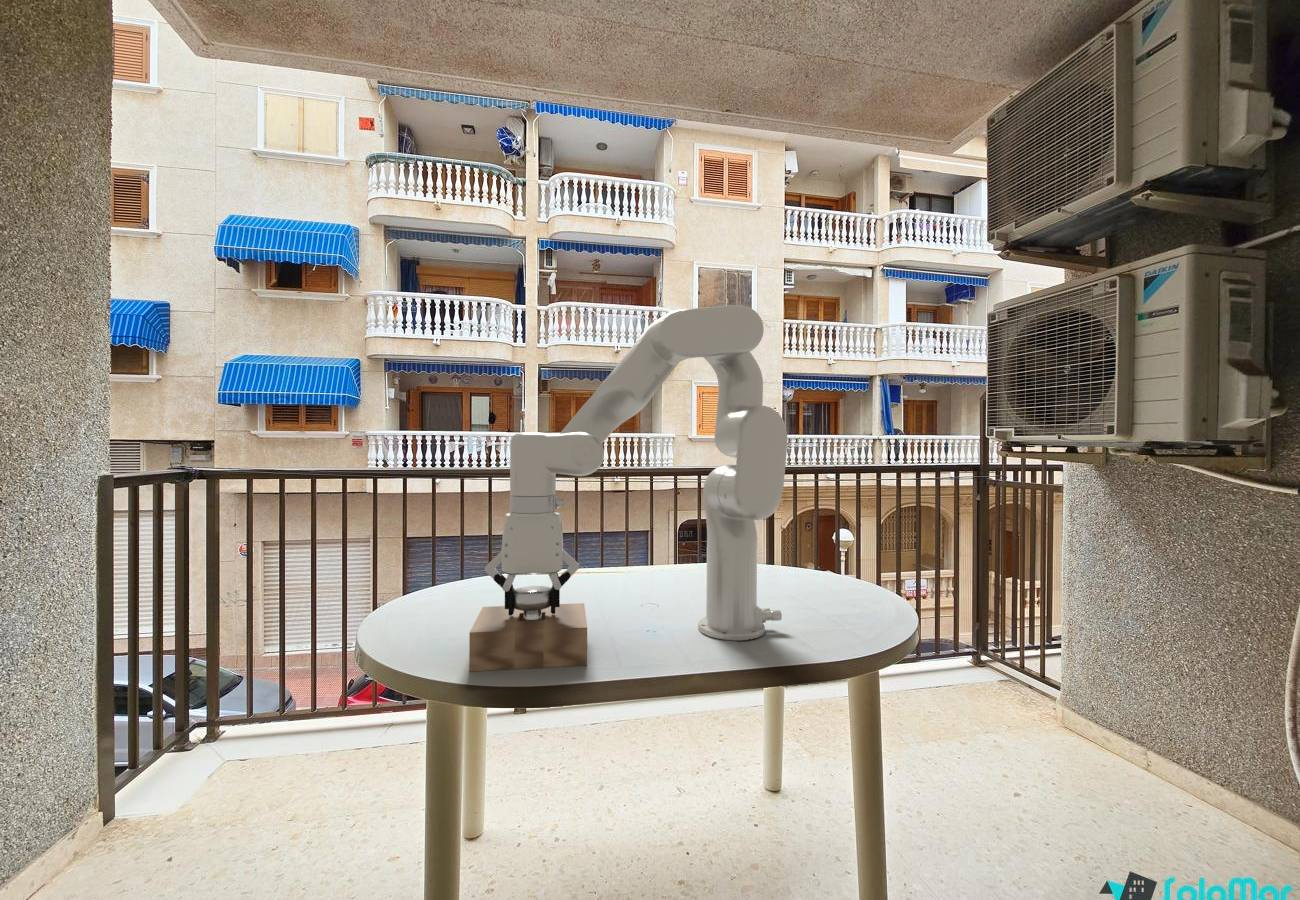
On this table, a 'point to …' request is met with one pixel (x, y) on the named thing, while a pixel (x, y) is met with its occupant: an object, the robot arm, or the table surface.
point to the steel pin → (532, 601)
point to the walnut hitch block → (528, 639)
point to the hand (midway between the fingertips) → (532, 611)
